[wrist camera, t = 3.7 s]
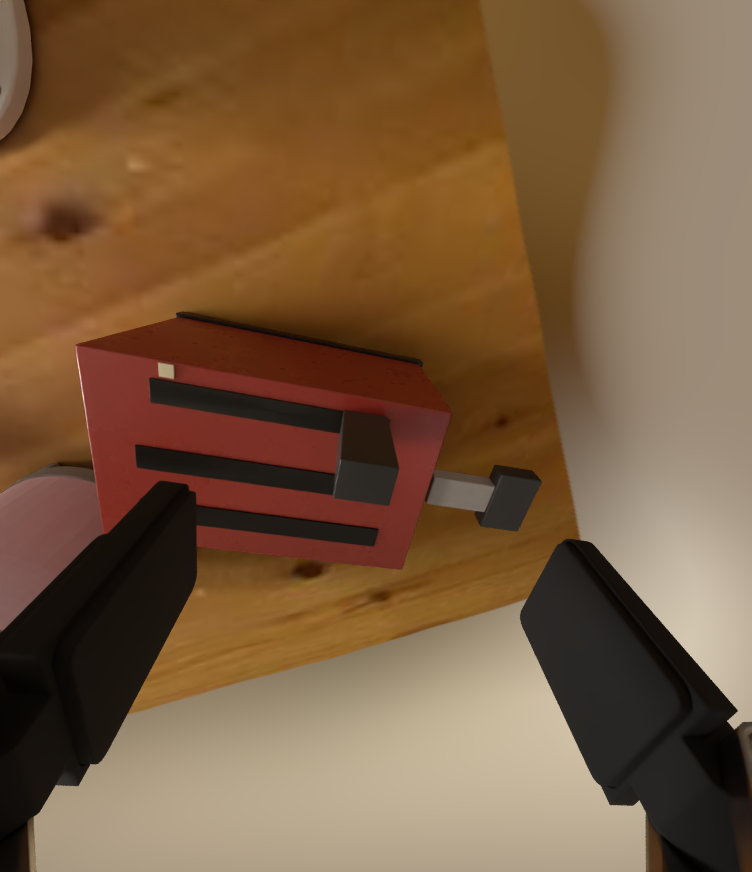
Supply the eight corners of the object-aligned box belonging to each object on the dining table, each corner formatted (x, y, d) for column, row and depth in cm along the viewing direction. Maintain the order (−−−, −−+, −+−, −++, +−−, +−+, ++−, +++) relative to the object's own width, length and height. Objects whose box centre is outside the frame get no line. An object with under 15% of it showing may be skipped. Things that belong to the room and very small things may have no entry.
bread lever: (435, 454, 19) (440, 465, 18) (532, 470, 20) (542, 481, 19) (418, 506, 21) (422, 519, 20) (510, 519, 22) (518, 532, 20)
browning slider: (343, 408, 15) (340, 458, 11) (388, 416, 16) (400, 467, 11) (338, 441, 16) (332, 499, 12) (380, 447, 16) (389, 507, 12)
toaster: (181, 311, 23) (65, 338, 14) (421, 359, 25) (459, 410, 16) (184, 449, 27) (97, 540, 18) (389, 480, 29) (404, 575, 20)
